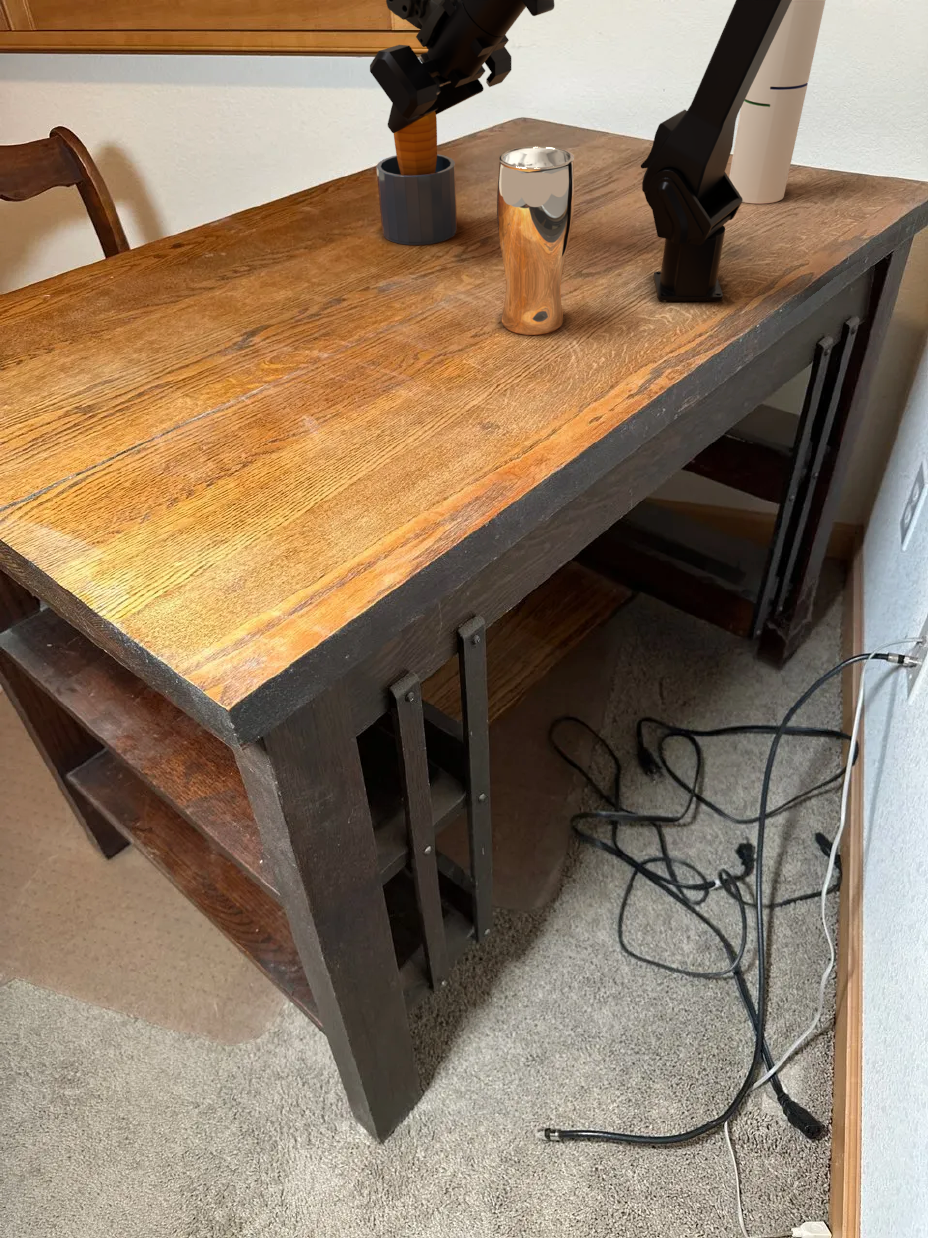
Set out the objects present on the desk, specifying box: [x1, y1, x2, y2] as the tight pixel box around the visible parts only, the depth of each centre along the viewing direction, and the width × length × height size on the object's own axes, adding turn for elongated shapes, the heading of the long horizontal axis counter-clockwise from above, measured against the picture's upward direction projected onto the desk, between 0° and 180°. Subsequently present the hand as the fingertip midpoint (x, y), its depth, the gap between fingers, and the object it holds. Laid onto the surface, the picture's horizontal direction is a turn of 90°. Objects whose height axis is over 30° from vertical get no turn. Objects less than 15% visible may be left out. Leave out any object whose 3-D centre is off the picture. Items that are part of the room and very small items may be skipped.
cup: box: [376, 153, 458, 246], centre depth 103 cm, size 9×9×8 cm
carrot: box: [393, 111, 438, 175], centre depth 99 cm, size 5×5×15 cm
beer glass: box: [496, 145, 575, 336], centre depth 81 cm, size 7×7×15 cm
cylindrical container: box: [728, 0, 826, 205], centre depth 103 cm, size 7×7×25 cm
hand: (405, 123), depth 98 cm, fingers closed on carrot, 5 cm apart
